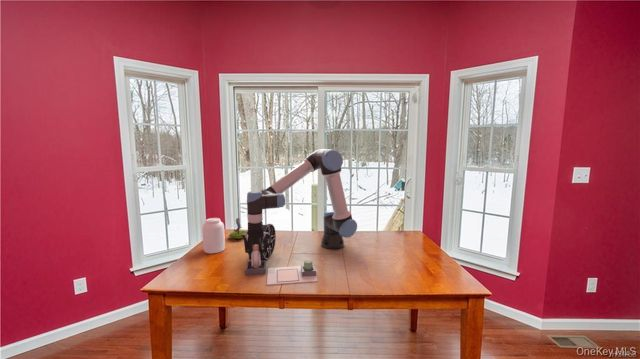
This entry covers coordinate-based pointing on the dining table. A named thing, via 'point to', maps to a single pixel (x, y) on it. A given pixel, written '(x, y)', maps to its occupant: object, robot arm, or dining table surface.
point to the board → (287, 276)
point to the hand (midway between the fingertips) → (256, 264)
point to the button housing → (308, 272)
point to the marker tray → (251, 271)
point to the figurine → (237, 231)
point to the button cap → (308, 265)
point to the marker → (255, 256)
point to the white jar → (213, 236)
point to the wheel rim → (270, 241)
